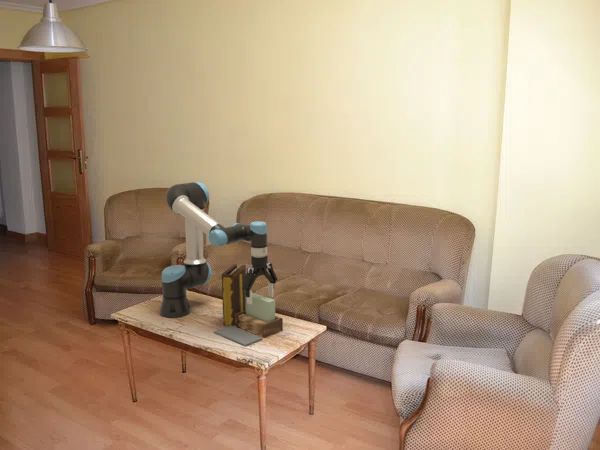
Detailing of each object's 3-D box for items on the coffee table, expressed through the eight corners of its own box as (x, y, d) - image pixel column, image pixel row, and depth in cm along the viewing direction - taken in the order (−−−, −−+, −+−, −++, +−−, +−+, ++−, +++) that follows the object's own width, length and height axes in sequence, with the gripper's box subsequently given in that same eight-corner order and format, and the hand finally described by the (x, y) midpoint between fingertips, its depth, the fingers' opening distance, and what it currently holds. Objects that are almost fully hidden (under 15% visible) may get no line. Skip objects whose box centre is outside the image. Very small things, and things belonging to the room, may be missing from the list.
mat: (213, 332, 244) (213, 331, 244) (230, 326, 251) (230, 325, 251) (245, 346, 229) (245, 344, 229) (262, 339, 237) (262, 338, 236)
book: (236, 326, 251) (235, 275, 246) (219, 325, 253) (218, 274, 248) (250, 310, 272) (249, 263, 267) (234, 309, 274) (233, 262, 269)
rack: (234, 325, 252) (234, 313, 251) (253, 319, 260) (252, 307, 259) (264, 337, 238) (264, 325, 237) (282, 330, 247) (282, 318, 246)
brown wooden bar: (238, 326, 251) (238, 315, 250) (243, 324, 254) (243, 313, 253) (262, 336, 240) (262, 325, 239) (268, 334, 243) (268, 322, 241)
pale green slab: (246, 324, 254) (245, 294, 251) (252, 322, 257) (251, 292, 254) (269, 333, 244) (268, 302, 241) (275, 330, 246) (275, 300, 243)
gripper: (244, 262, 232) (245, 308, 236) (284, 251, 250) (285, 295, 254) (232, 259, 237) (234, 304, 241) (273, 249, 255) (274, 291, 259)
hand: (260, 300), depth 247 cm, fingers open, 13 cm apart
